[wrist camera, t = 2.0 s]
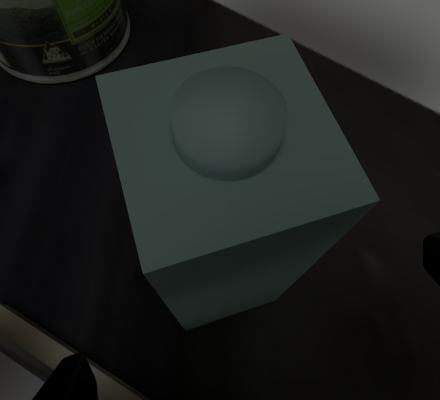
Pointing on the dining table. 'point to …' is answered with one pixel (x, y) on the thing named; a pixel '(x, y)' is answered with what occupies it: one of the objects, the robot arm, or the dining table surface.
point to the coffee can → (61, 38)
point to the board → (43, 361)
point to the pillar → (230, 174)
